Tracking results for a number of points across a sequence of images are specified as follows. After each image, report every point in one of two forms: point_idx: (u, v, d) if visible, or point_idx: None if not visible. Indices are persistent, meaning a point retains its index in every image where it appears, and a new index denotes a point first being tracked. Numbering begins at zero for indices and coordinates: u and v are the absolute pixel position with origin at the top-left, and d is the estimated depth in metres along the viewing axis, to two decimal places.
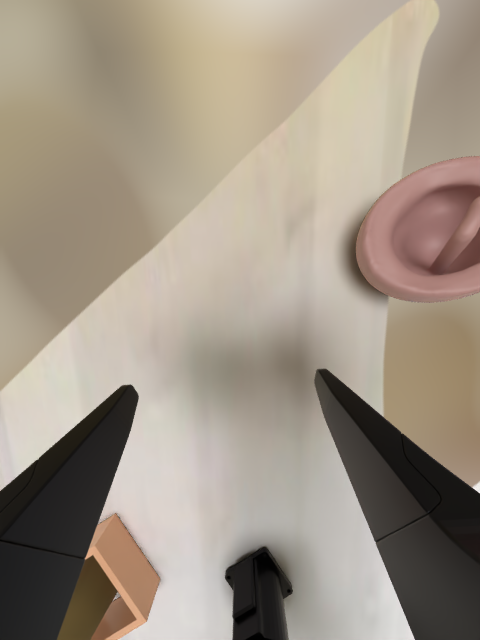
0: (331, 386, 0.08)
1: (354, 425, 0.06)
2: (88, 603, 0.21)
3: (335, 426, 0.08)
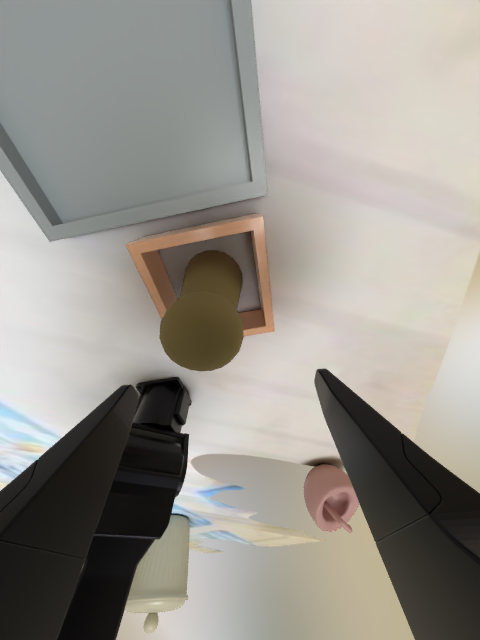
0: (331, 386, 0.08)
1: (354, 425, 0.06)
2: None
3: (335, 426, 0.08)
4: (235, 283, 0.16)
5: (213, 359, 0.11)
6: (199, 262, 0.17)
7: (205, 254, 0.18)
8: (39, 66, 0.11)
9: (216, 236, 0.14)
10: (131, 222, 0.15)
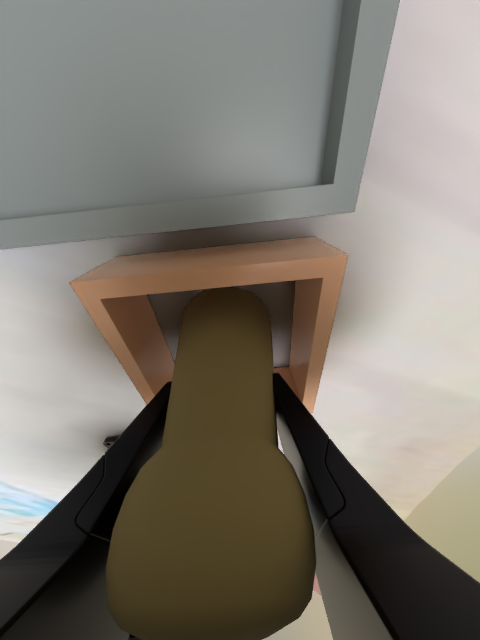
0: (277, 390, 0.08)
1: (289, 430, 0.06)
2: None
3: (280, 430, 0.08)
4: (270, 358, 0.09)
5: None
6: (210, 312, 0.10)
7: (219, 295, 0.11)
8: None
9: (250, 282, 0.07)
10: (86, 237, 0.08)
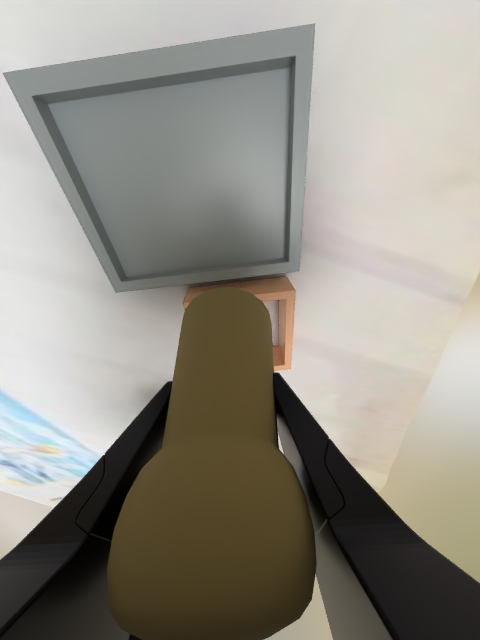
0: (277, 390, 0.08)
1: (288, 430, 0.06)
2: None
3: (280, 430, 0.08)
4: (271, 359, 0.09)
5: None
6: (210, 313, 0.10)
7: (220, 295, 0.11)
8: (136, 173, 0.15)
9: None
10: (186, 283, 0.18)
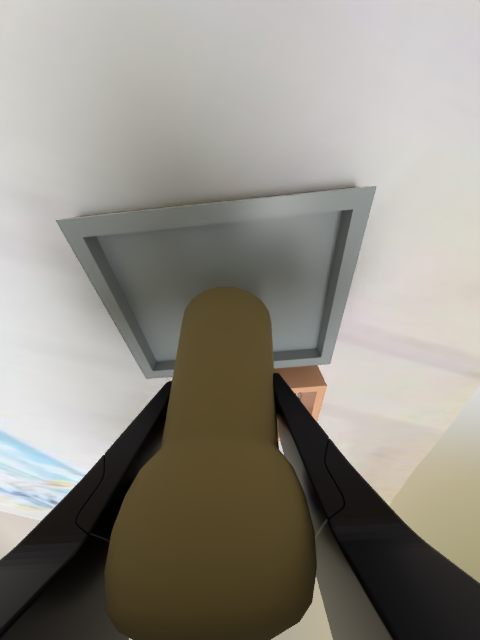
0: (277, 390, 0.08)
1: (288, 430, 0.06)
2: None
3: (280, 430, 0.08)
4: (271, 359, 0.09)
5: None
6: (210, 312, 0.10)
7: (219, 295, 0.11)
8: (177, 285, 0.15)
9: None
10: None
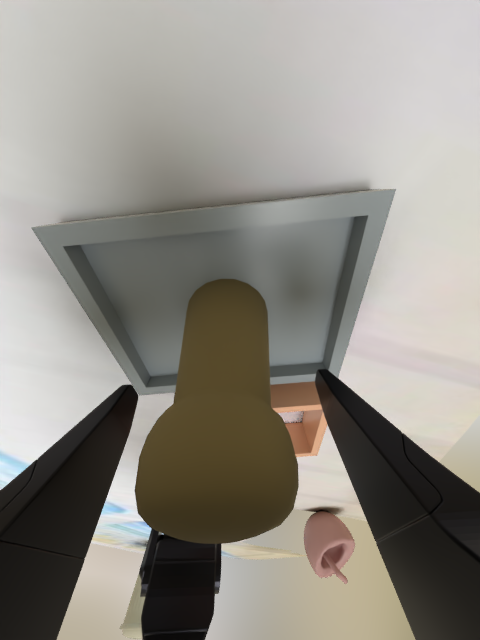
0: (331, 386, 0.08)
1: (355, 425, 0.06)
2: None
3: (335, 426, 0.08)
4: (266, 340, 0.10)
5: (240, 540, 0.06)
6: (212, 300, 0.11)
7: (220, 285, 0.12)
8: (171, 297, 0.13)
9: (291, 411, 0.17)
10: None
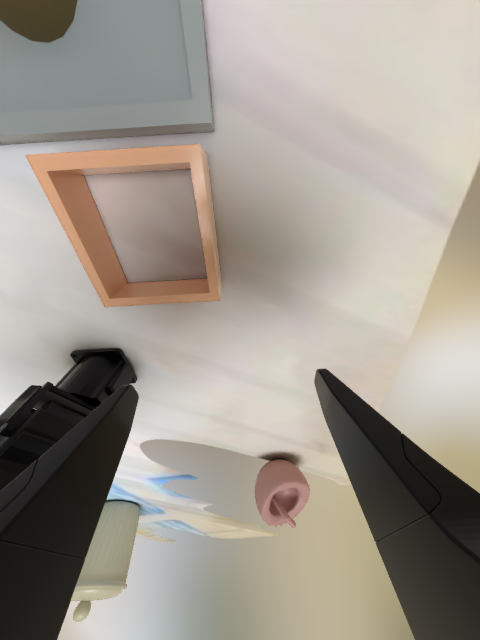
0: (331, 386, 0.08)
1: (354, 425, 0.06)
2: None
3: (335, 426, 0.08)
4: None
5: None
6: None
7: None
8: None
9: (143, 163, 0.12)
10: (39, 131, 0.12)
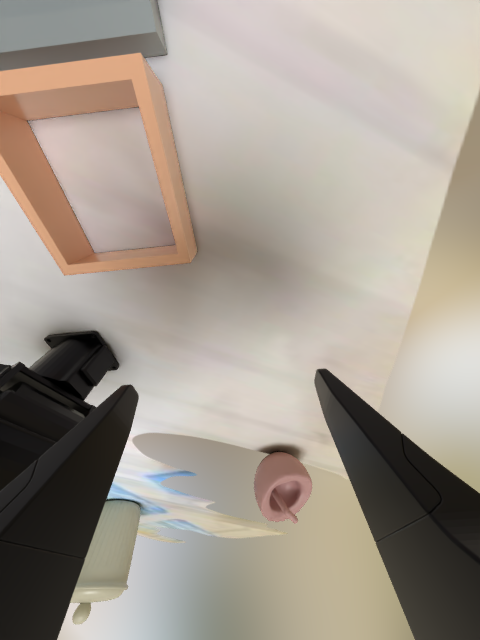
0: (331, 386, 0.08)
1: (354, 425, 0.06)
2: None
3: (335, 426, 0.08)
4: None
5: None
6: None
7: None
8: None
9: (77, 83, 0.10)
10: None
